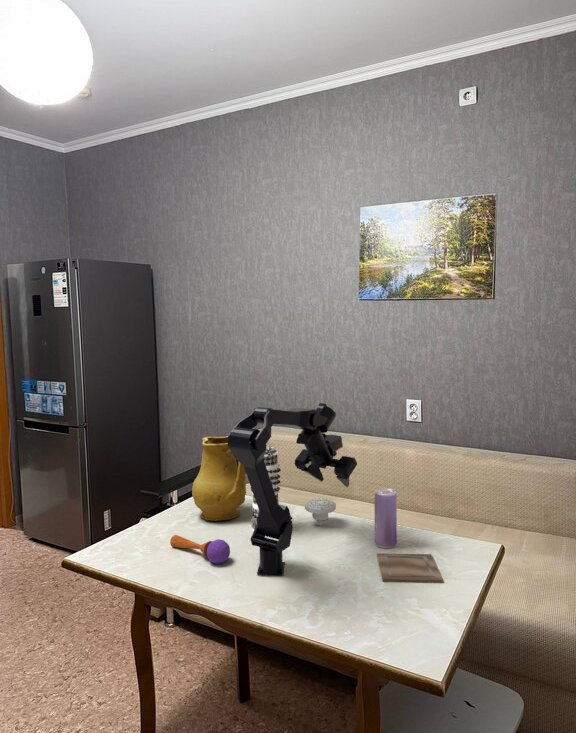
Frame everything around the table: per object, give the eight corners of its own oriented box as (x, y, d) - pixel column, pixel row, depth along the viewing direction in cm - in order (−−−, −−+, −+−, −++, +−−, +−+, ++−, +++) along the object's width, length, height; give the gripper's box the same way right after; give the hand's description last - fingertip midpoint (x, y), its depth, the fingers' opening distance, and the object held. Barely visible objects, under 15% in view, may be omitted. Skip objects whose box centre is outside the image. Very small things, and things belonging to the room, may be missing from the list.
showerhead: (305, 507, 157) (303, 496, 166) (306, 531, 157) (304, 518, 167) (337, 506, 157) (333, 495, 167) (338, 530, 157) (334, 517, 167)
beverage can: (398, 549, 144) (398, 494, 143) (376, 549, 144) (376, 495, 143) (394, 539, 150) (394, 487, 149) (373, 540, 150) (373, 488, 149)
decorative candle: (284, 524, 162) (282, 444, 160) (279, 537, 153) (277, 451, 151) (254, 523, 164) (252, 443, 161) (247, 535, 155) (245, 451, 152)
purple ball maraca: (183, 528, 151) (235, 539, 139) (182, 550, 151) (234, 563, 138) (167, 531, 147) (219, 543, 134) (165, 553, 146) (217, 567, 134)
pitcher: (237, 502, 182) (235, 430, 180) (255, 521, 165) (253, 442, 163) (187, 510, 176) (184, 435, 174) (200, 531, 159) (198, 448, 156)
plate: (442, 582, 125) (442, 580, 125) (382, 581, 126) (382, 578, 126) (431, 556, 139) (431, 553, 139) (377, 555, 140) (377, 552, 140)
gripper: (357, 428, 147) (374, 468, 155) (304, 421, 159) (323, 458, 167) (337, 457, 141) (356, 497, 148) (284, 448, 153) (304, 485, 160)
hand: (334, 483), depth 156 cm, fingers open, 9 cm apart
